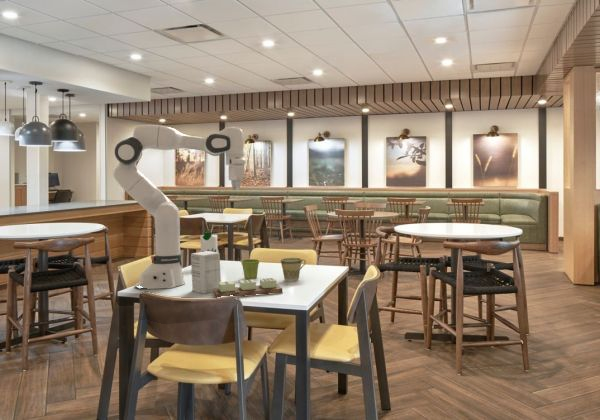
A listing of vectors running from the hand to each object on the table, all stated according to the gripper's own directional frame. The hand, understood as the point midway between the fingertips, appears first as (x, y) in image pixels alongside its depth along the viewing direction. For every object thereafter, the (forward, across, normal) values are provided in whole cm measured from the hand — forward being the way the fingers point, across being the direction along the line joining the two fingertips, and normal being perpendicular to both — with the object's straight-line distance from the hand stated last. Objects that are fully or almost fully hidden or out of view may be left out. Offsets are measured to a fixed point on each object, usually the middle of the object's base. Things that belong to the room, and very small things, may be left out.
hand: (236, 190), depth 238 cm
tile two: (+42, +28, -2) cm, 50 cm away
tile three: (+42, +28, +7) cm, 51 cm away
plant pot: (+44, -5, +7) cm, 45 cm away
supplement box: (+44, +15, -18) cm, 50 cm away
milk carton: (+44, -45, -8) cm, 63 cm away
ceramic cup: (+44, +8, +26) cm, 52 cm away
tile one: (+42, +28, -11) cm, 51 cm away
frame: (+44, +28, -2) cm, 52 cm away
